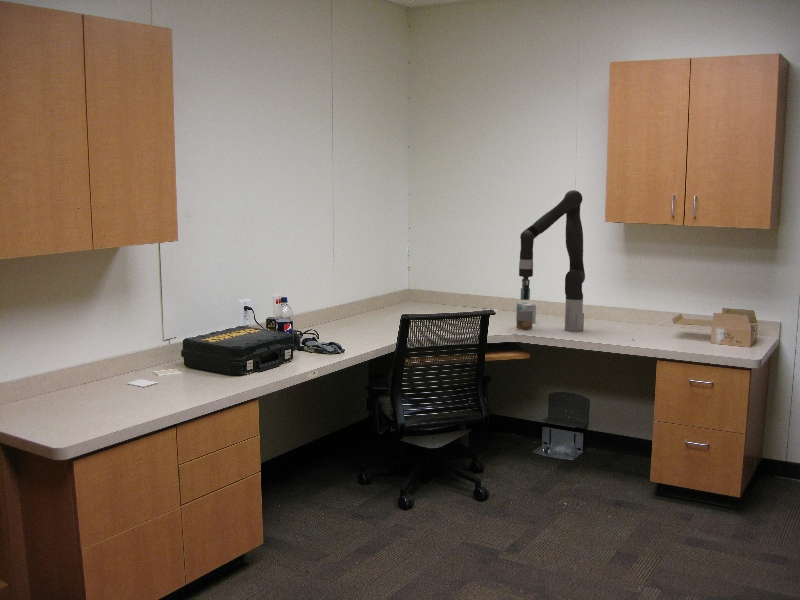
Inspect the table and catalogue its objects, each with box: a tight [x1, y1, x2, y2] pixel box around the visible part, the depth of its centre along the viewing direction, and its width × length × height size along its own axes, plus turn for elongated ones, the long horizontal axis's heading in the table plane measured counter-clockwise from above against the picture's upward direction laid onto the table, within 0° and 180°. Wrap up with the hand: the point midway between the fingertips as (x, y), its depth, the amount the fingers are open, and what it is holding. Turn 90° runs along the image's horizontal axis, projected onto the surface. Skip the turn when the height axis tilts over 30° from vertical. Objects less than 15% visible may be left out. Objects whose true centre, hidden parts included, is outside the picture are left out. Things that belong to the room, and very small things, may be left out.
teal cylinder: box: [520, 287, 531, 301], centre depth 440 cm, size 5×5×6 cm
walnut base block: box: [516, 320, 533, 331], centre depth 442 cm, size 6×6×5 cm
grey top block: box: [516, 310, 533, 321], centre depth 441 cm, size 6×6×5 cm
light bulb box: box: [515, 301, 537, 324], centre depth 462 cm, size 11×7×11 cm, turn 25°
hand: (525, 298), depth 440 cm, fingers closed on teal cylinder, 5 cm apart
